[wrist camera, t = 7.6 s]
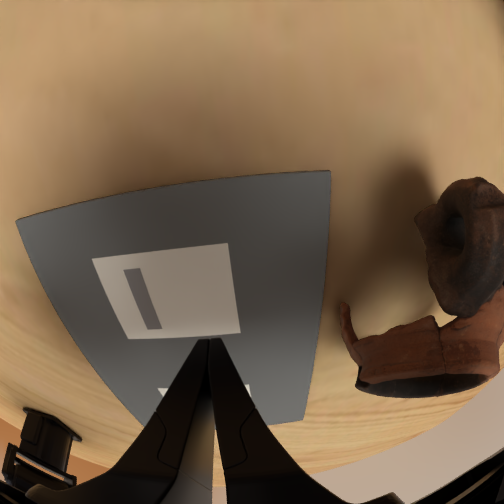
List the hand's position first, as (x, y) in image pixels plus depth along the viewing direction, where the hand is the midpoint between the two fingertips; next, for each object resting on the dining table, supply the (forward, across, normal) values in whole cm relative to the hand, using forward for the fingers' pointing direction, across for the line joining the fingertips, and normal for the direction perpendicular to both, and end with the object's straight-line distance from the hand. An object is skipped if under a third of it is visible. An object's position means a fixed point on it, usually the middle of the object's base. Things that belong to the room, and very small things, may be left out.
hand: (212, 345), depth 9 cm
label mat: (+3, +2, +5) cm, 6 cm away
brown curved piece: (+3, -10, 0) cm, 11 cm away
